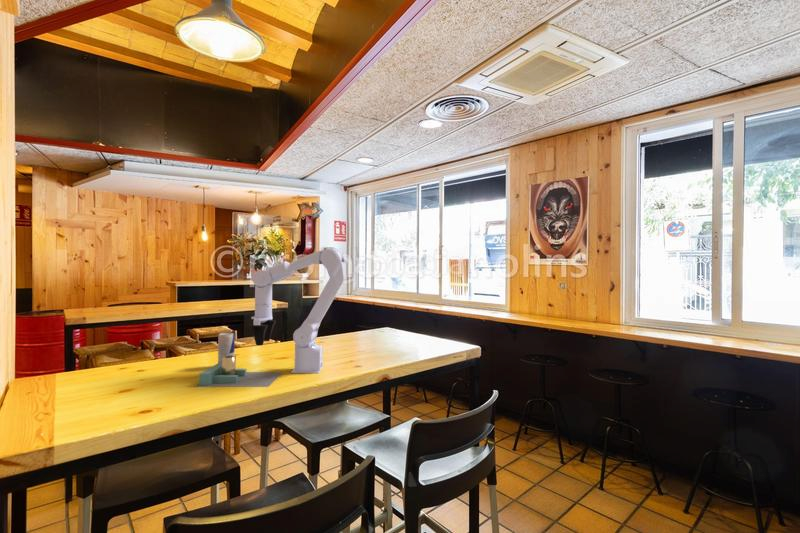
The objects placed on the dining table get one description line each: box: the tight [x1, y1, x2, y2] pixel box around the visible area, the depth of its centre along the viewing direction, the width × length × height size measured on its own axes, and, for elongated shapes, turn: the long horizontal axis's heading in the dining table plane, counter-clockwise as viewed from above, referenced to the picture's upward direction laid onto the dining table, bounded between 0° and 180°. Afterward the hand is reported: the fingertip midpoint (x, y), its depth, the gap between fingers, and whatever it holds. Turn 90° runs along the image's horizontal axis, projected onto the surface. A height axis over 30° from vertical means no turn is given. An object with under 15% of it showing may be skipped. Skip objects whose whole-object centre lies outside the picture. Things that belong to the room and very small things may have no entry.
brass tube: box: [222, 355, 237, 375], centre depth 124 cm, size 4×4×7 cm
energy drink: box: [217, 332, 236, 364], centre depth 139 cm, size 5×5×12 cm
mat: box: [194, 371, 283, 388], centre depth 124 cm, size 22×16×1 cm
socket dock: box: [198, 362, 248, 386], centre depth 124 cm, size 10×14×4 cm
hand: (263, 342), depth 136 cm, fingers open, 7 cm apart
